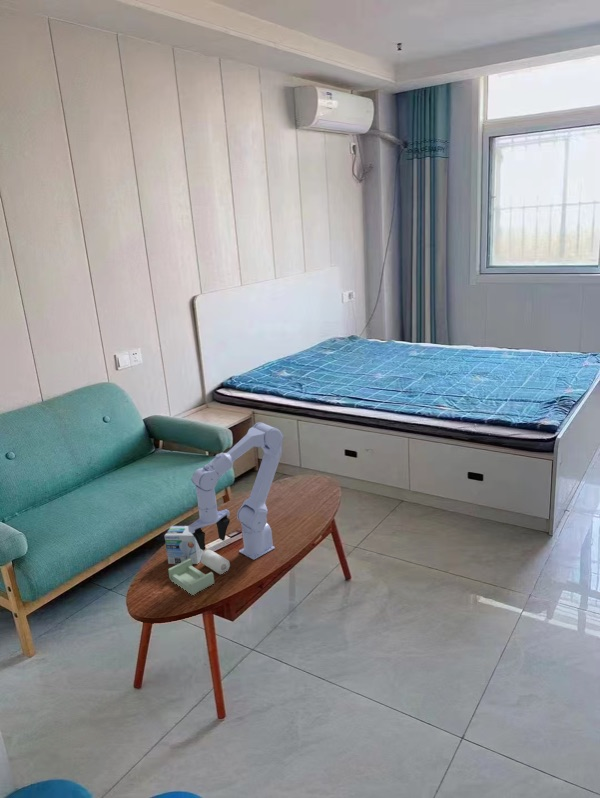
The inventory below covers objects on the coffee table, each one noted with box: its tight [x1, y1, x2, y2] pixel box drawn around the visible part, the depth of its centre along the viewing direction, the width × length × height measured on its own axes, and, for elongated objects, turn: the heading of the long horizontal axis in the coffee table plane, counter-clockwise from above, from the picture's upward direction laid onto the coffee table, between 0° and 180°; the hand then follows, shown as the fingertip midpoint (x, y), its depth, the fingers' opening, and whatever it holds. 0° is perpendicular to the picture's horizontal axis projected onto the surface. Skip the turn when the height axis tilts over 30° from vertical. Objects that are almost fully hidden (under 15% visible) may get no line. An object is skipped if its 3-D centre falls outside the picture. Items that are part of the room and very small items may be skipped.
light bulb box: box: [164, 525, 205, 565], centre depth 195 cm, size 11×7×11 cm, turn 82°
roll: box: [200, 549, 231, 576], centre depth 189 cm, size 9×5×5 cm, turn 44°
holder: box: [167, 558, 215, 596], centre depth 182 cm, size 13×8×4 cm, turn 44°
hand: (212, 544), depth 187 cm, fingers open, 7 cm apart
